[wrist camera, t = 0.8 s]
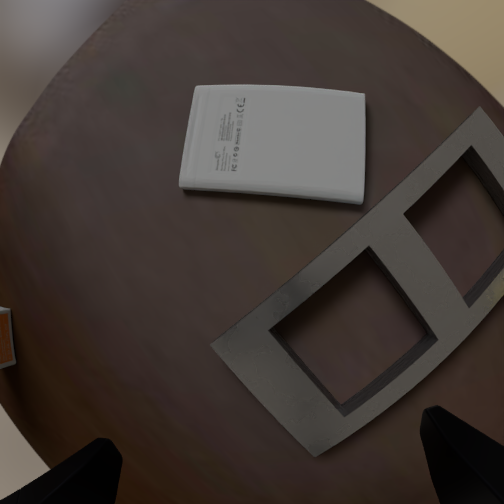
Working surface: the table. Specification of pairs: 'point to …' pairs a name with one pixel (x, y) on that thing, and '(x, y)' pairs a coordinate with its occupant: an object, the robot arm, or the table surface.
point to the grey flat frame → (402, 278)
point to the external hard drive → (276, 142)
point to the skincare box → (6, 339)
